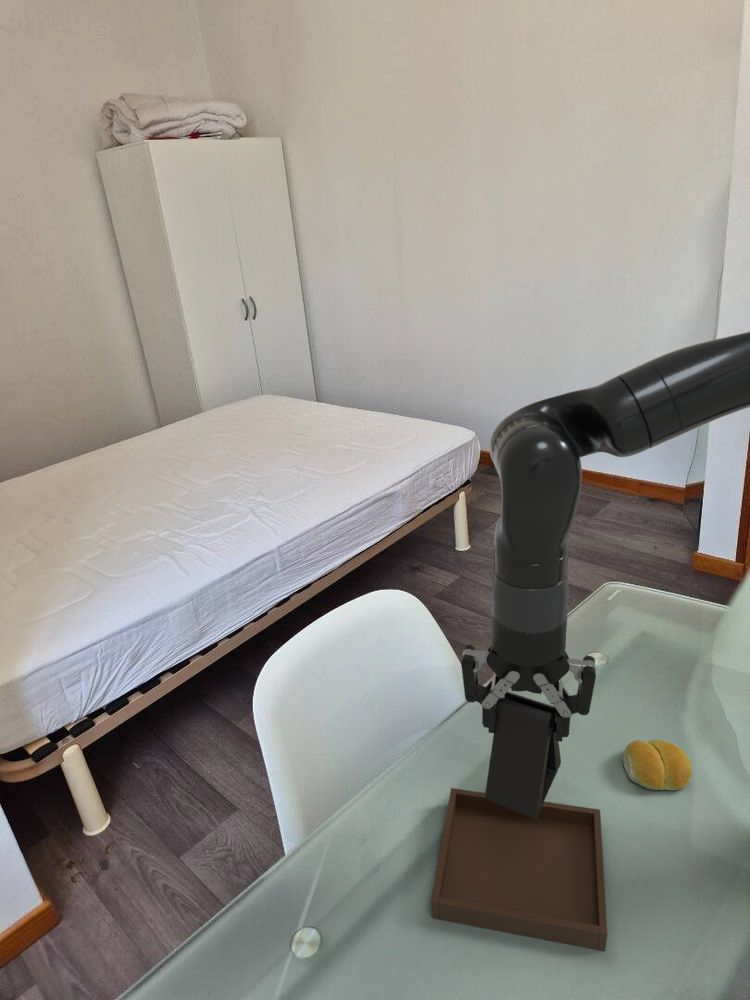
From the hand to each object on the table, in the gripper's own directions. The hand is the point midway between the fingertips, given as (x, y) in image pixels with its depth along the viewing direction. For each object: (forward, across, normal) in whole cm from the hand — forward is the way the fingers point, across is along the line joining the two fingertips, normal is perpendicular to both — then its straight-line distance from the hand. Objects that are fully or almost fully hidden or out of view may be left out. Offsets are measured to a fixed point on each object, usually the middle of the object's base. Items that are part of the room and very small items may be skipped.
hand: (525, 731), depth 76 cm
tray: (+23, 0, 0) cm, 23 cm away
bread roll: (+23, +18, +19) cm, 35 cm away
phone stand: (+8, 0, 0) cm, 8 cm away
